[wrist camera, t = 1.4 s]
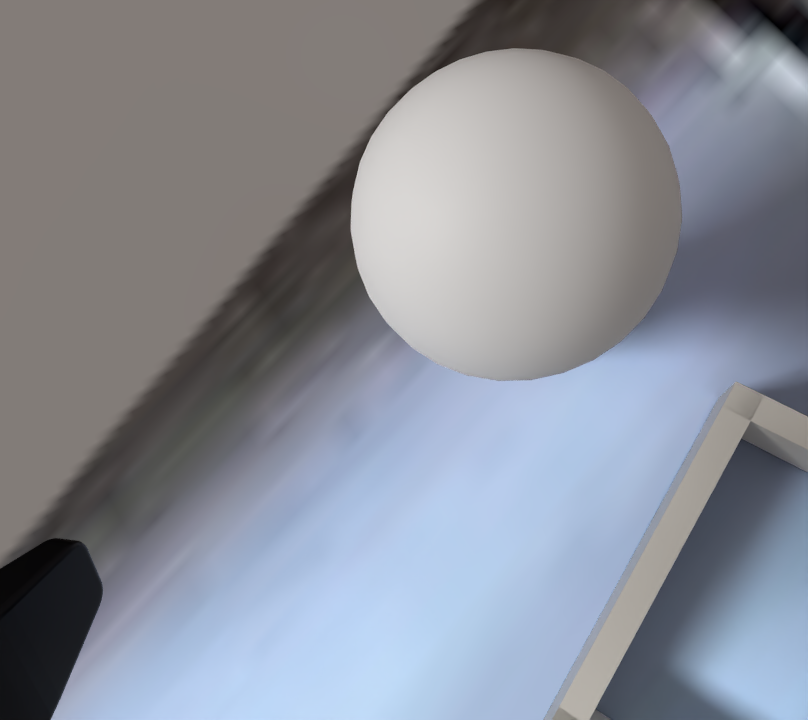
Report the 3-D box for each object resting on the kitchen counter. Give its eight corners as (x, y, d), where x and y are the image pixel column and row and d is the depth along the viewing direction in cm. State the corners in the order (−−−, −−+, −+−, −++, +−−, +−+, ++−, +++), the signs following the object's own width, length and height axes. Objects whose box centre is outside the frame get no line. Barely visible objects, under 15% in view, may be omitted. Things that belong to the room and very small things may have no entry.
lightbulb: (396, 293, 23) (246, 97, 13) (574, 191, 23) (570, -100, 12) (492, 471, 21) (409, 413, 11) (687, 365, 21) (796, 198, 10)
